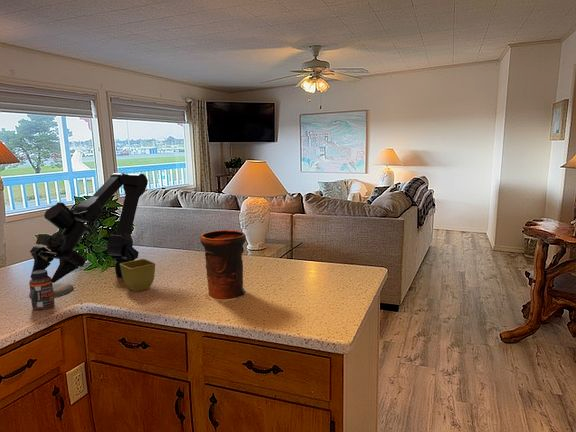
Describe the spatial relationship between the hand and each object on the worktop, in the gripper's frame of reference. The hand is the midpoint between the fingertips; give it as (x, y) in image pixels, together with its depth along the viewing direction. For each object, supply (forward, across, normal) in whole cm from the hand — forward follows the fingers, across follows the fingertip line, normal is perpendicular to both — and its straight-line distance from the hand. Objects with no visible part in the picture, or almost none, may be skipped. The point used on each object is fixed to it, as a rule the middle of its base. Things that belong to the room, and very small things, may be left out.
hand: (42, 280), depth 123 cm
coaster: (-1, -10, +13) cm, 16 cm away
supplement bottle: (+6, 0, +6) cm, 9 cm away
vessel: (-15, +46, +27) cm, 55 cm away
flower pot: (-10, +16, +22) cm, 29 cm away
